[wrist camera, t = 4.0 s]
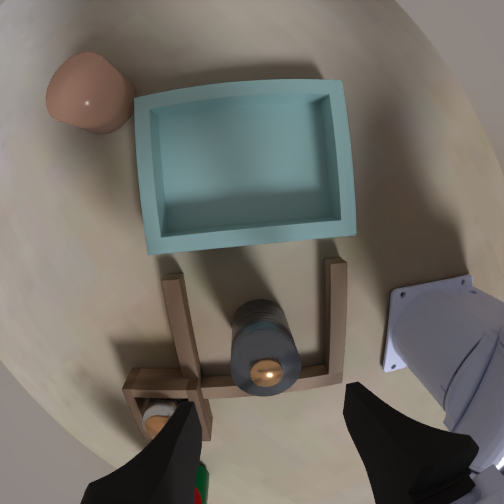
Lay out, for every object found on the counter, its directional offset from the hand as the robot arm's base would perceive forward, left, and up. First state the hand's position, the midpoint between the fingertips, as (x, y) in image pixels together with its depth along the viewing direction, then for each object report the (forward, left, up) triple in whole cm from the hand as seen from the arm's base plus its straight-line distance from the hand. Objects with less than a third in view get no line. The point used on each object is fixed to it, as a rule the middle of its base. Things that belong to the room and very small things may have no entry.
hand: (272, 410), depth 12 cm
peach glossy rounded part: (+10, -18, -9) cm, 22 cm away
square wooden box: (+8, +6, -9) cm, 14 cm away
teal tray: (0, -12, -9) cm, 15 cm away
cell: (0, 0, -9) cm, 9 cm away
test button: (+8, +6, -8) cm, 13 cm away
